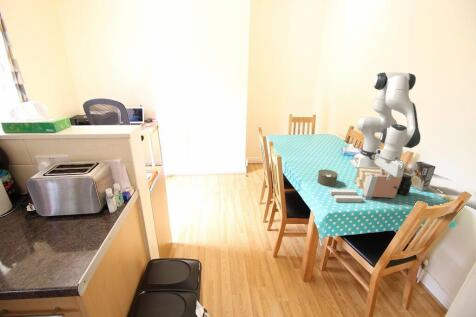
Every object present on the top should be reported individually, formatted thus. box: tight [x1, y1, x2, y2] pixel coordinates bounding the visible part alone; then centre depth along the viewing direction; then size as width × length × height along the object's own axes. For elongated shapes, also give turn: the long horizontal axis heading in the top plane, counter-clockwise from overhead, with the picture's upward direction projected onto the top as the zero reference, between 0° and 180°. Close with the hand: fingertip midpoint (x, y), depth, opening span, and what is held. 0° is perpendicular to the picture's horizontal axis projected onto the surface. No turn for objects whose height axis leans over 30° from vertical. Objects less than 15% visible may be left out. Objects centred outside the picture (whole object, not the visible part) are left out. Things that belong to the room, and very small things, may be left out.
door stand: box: [328, 188, 364, 203], centre depth 133 cm, size 10×15×2 cm, turn 90°
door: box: [362, 174, 402, 199], centre depth 130 cm, size 4×17×13 cm, turn 90°
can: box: [317, 169, 339, 187], centre depth 150 cm, size 12×12×7 cm
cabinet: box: [354, 167, 388, 200], centre depth 139 cm, size 20×17×12 cm
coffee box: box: [410, 161, 436, 192], centre depth 144 cm, size 9×6×16 cm
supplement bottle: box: [396, 173, 412, 196], centre depth 137 cm, size 7×7×12 cm
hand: (384, 177), depth 129 cm, fingers open, 3 cm apart
